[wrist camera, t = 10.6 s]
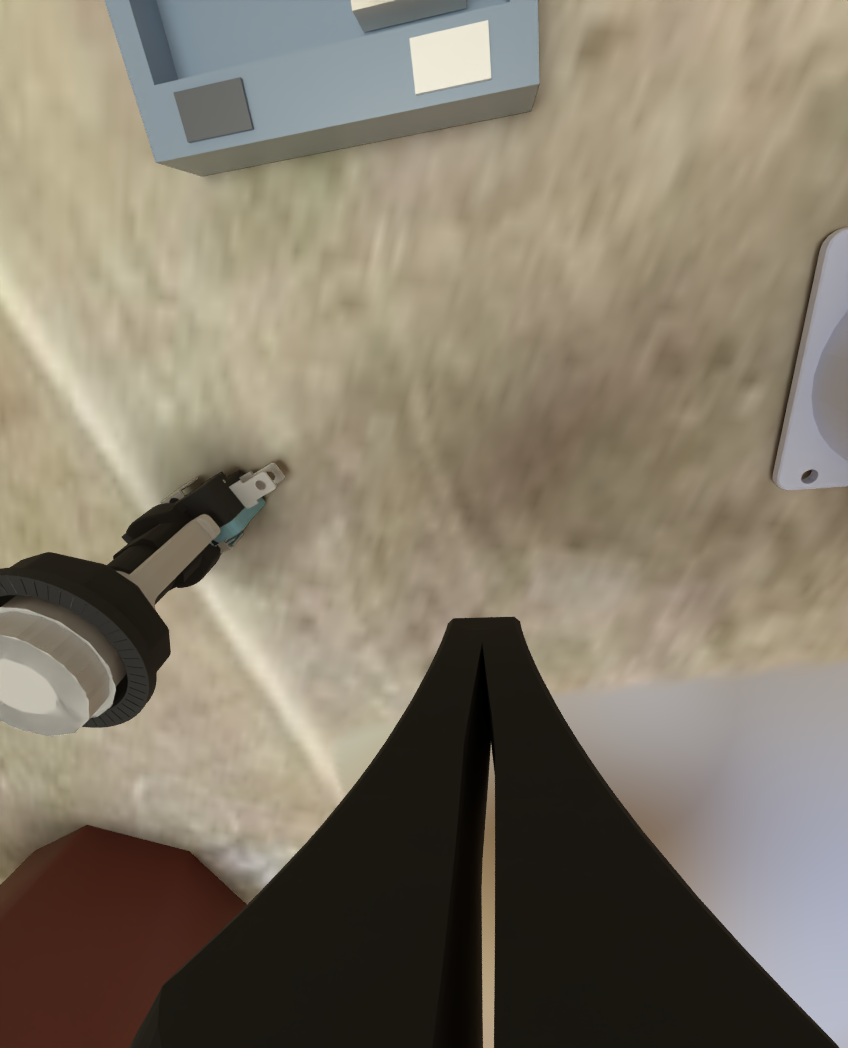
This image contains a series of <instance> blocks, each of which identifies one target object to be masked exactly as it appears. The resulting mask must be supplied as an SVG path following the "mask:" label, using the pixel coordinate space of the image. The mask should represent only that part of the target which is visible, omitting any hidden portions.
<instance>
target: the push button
mask: <svg viewBox="0 0 848 1048" xmlns="http://www.w3.org/2000/svg"><path fill="white" fill-rule="evenodd" d="M267 471H271V472H273V473H274V475H275V479H274V480H272V479H271V478H270V476H269V475H268V474H267ZM197 479H198V477H196V478H194V479H192V480H191V481H189V482H188V483H186V484H185V485H183V486H182V487H180V488H179V489H177V490H176V491H175V492H173V493H172V494H171V495H169V496H168V497H167V498H165V499H164V500H163V501H161V504H160V505H157V506H155V507H153V508H152V509H150V510H149V511H147V512H146V513H145V514H143V515H142V516H141V517H139V518H138V519H137V520H135V521H134V522H133V523H132V524H131V525H130V526H129V528H128V529H127V531H126V534H124V535H123V536H122V538H123V539H124V540H125V541H126V542H127V543H128V544H127V545H126V546H125V547H124V548H122V549H121V550H120V551H119V552H117V553H116V554H115V555H114V556H113V559H114V560H113V561H112V562H110V563H109V564H108V565H104V564H100V563H96V562H92V561H87V560H83V559H78V558H74V557H69V556H65V555H61V554H56V553H51V552H47V553H43V554H40V555H36V556H33V557H30V558H26V559H23V560H21V561H19V562H18V563H16V564H15V565H13V566H12V567H10V568H3V569H0V721H3V722H5V723H7V724H8V725H10V726H12V727H14V728H18V729H20V730H22V731H26V732H31V733H36V734H41V735H45V736H58V735H64V734H71V733H75V732H76V731H77V730H78V729H80V728H81V727H110V726H115V725H118V724H122V723H124V722H126V721H129V720H130V719H132V718H133V717H135V716H136V715H137V714H138V713H139V712H140V711H141V710H142V709H143V707H144V706H145V705H146V703H147V702H148V701H149V699H150V698H151V696H152V694H153V693H154V690H155V687H156V672H157V671H158V670H159V668H160V667H161V666H162V665H163V663H164V662H165V661H166V660H167V658H168V657H169V656H170V652H171V651H170V639H169V630H168V627H167V626H166V625H165V623H164V622H163V620H162V619H161V618H160V616H159V615H158V613H157V612H156V610H155V604H156V603H157V602H158V601H159V600H160V599H161V598H162V597H163V596H164V595H165V594H166V593H167V592H168V591H169V590H171V589H173V588H175V587H177V588H183V587H189V586H191V585H194V584H196V583H197V582H199V581H200V580H201V579H202V578H203V577H204V576H205V575H206V574H207V573H208V572H209V571H210V569H211V568H212V567H213V566H214V565H215V564H216V562H217V561H218V559H219V557H220V555H221V554H222V553H224V552H226V551H228V550H230V549H231V547H232V546H234V545H235V544H236V543H237V541H238V540H239V539H240V538H241V537H242V536H243V535H244V532H241V531H242V530H243V529H244V528H245V527H246V526H247V525H248V523H249V522H250V520H251V519H252V518H253V517H254V516H255V515H256V514H257V513H258V512H259V510H260V509H261V508H262V507H263V506H264V505H265V504H266V502H265V501H264V500H263V498H262V496H264V495H266V494H268V493H269V492H271V491H273V490H274V489H276V484H277V483H279V482H281V481H282V480H284V479H285V475H284V474H283V473H282V471H281V470H280V469H279V467H278V466H277V465H276V463H273V462H272V463H270V464H269V465H267V466H265V467H264V468H262V469H260V470H259V471H257V472H255V473H254V474H253V473H252V471H249V472H248V473H246V474H243V473H242V472H241V470H238V471H237V472H235V473H233V474H232V475H230V476H228V477H226V476H225V474H224V473H223V472H220V473H218V474H217V475H215V476H213V477H212V478H210V479H209V480H208V481H206V482H205V483H203V484H202V485H201V486H199V487H198V488H196V489H195V490H194V491H192V492H191V493H189V494H188V495H186V496H185V494H184V493H183V492H182V490H183V489H185V488H186V487H188V486H189V485H190V484H192V483H193V482H194V481H196V480H197ZM240 532H241V533H240ZM238 533H239V534H238ZM235 535H236V536H235ZM233 536H234V537H233ZM226 539H229V540H227V541H226V542H225V541H224V540H226ZM230 542H231V543H230Z"/></svg>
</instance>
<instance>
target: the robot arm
mask: <svg viewBox="0 0 848 1048" xmlns="http://www.w3.org/2000/svg"><path fill="white" fill-rule="evenodd" d="M811 469H812V472H811V474H810V475H809V476H808V477H807V478H805V479H801V477H802V475H803V473H805V472H806V471H808V470H811ZM773 481H774V483H775V484H776V485H777V486H778V487H780V488H782V489H783V490H803V489H818V488H832V487H847V486H848V227H846V228H842V229H839V230H836V231H834V232H833V233H832V234H830V235H829V236H828V237H827V238H826V240H825V241H824V242H823V244H822V246H821V249H820V252H819V257H818V262H817V266H816V271H815V276H814V281H813V285H812V290H811V295H810V300H809V304H808V309H807V314H806V319H805V324H804V328H803V333H802V338H801V343H800V347H799V352H798V357H797V362H796V366H795V371H794V376H793V381H792V385H791V390H790V395H789V400H788V404H787V409H786V414H785V419H784V424H783V428H782V433H781V438H780V443H779V447H778V452H777V457H776V462H775V466H774V471H773ZM491 745H492V754H493V763H494V771H495V1001H494V1006H495V1007H494V1009H495V1010H494V1013H495V1014H494V1048H839V1047H838V1046H837V1044H836V1043H835V1042H834V1041H833V1040H832V1039H831V1038H830V1037H829V1036H828V1035H827V1034H826V1033H825V1032H824V1031H823V1030H822V1029H821V1028H820V1027H819V1026H818V1025H817V1024H816V1023H815V1022H814V1021H813V1020H812V1018H811V1017H810V1016H808V1015H807V1014H806V1012H805V1011H804V1010H803V1009H802V1008H801V1007H799V1005H798V1004H797V1003H796V1002H795V1001H794V1000H793V999H792V998H791V997H790V996H789V995H788V994H787V993H786V992H785V991H784V990H783V989H782V988H781V987H780V986H779V985H778V983H777V982H776V981H775V980H774V979H773V978H772V977H771V976H770V975H769V974H768V973H767V972H766V971H765V970H764V969H763V968H762V967H761V965H760V964H759V963H758V962H757V961H756V960H755V959H754V958H753V957H752V956H751V955H750V954H749V953H748V952H747V951H746V950H745V949H744V947H742V945H741V944H740V943H739V942H738V941H737V940H736V939H735V938H734V936H733V935H732V934H731V933H730V932H729V931H728V930H727V929H726V928H725V927H724V925H723V924H722V923H721V922H720V921H719V920H718V919H717V918H716V916H715V915H714V914H713V913H712V912H711V911H710V910H709V909H708V908H707V907H706V905H704V903H703V902H702V901H701V900H700V899H699V898H698V897H697V895H696V894H695V893H694V892H693V891H692V889H691V888H690V887H689V886H688V885H687V883H686V882H685V881H684V880H683V879H682V877H681V876H680V875H679V874H678V873H677V871H676V870H675V869H674V868H673V867H672V865H671V864H670V863H669V862H668V861H667V859H666V858H665V857H664V856H663V855H662V853H661V852H660V851H659V850H658V849H657V847H656V846H655V845H654V844H653V843H652V842H651V840H650V839H649V838H648V837H647V836H646V835H645V833H644V832H643V831H642V830H641V828H640V827H639V826H638V825H637V823H636V822H635V820H634V819H633V818H632V817H631V815H630V814H629V813H628V811H627V810H626V809H625V807H624V806H623V805H622V803H621V802H620V801H619V800H618V798H617V797H616V795H615V794H614V793H613V791H612V790H611V788H610V787H609V786H608V784H607V783H606V781H605V780H604V779H603V777H602V776H601V775H600V773H599V772H598V770H597V769H596V767H595V766H594V764H593V763H592V761H591V760H590V759H589V757H588V756H587V754H586V752H585V751H584V749H583V748H582V746H581V745H580V744H579V742H578V740H577V739H576V737H575V735H574V734H573V732H572V730H571V729H570V727H569V726H568V724H567V722H566V721H565V719H564V718H563V716H562V714H561V712H560V710H559V709H558V707H557V705H556V704H555V702H554V700H553V698H552V696H551V694H550V692H549V690H548V689H547V687H546V685H545V683H544V681H543V679H542V677H541V675H540V673H539V671H538V669H537V667H536V665H535V663H534V660H533V658H532V656H531V654H530V651H529V649H528V646H527V644H526V641H525V638H524V635H523V632H522V629H521V624H520V621H519V620H518V619H516V618H515V617H490V618H454V619H452V620H451V621H450V622H449V623H448V626H447V629H446V632H445V634H444V637H443V639H442V642H441V644H440V646H439V648H438V651H437V653H436V655H435V657H434V659H433V661H432V663H431V665H430V667H429V669H428V671H427V673H426V675H425V677H424V679H423V680H422V682H421V684H420V686H419V688H418V690H417V692H416V693H415V695H414V697H413V699H412V701H411V702H410V704H409V706H408V707H407V709H406V710H405V712H404V714H403V715H402V717H401V718H400V720H399V722H398V723H397V725H396V726H395V728H394V730H393V731H392V733H391V734H390V736H389V738H388V739H387V741H386V742H385V744H384V745H383V747H382V748H381V749H380V751H379V752H378V754H377V755H376V757H375V758H374V759H373V761H372V762H371V764H370V765H369V766H368V768H367V769H366V770H365V772H364V773H363V774H362V776H361V777H360V779H359V780H358V781H357V782H356V784H355V785H354V786H353V788H352V789H351V790H350V791H349V793H348V794H347V795H346V796H345V797H344V799H343V800H342V801H341V802H340V804H339V805H338V806H337V807H336V809H335V810H334V811H333V812H332V813H331V815H330V816H329V817H328V818H327V820H326V821H325V822H324V823H323V824H322V825H321V827H320V828H319V829H318V830H317V831H316V832H315V834H314V835H313V836H312V837H311V838H310V839H309V840H308V842H307V843H306V844H305V845H304V846H303V847H302V848H301V849H300V850H299V851H298V852H297V853H296V854H295V855H294V857H293V858H292V859H291V860H290V861H289V862H288V863H287V864H286V865H285V866H284V867H283V868H282V869H281V870H280V871H279V872H278V874H277V875H276V876H275V877H274V878H273V879H272V880H271V881H270V882H269V883H268V884H267V885H266V886H265V887H264V888H263V889H262V891H261V892H260V893H259V894H258V895H257V896H256V897H255V898H254V899H253V900H252V901H251V902H250V903H249V904H248V905H247V906H246V907H245V908H244V909H243V910H242V911H241V912H240V913H239V914H237V915H236V916H235V917H234V918H233V919H232V920H231V921H230V922H229V923H228V924H227V925H226V926H225V927H224V928H223V929H222V930H220V931H219V932H218V933H217V934H216V935H215V936H214V937H213V938H212V939H211V940H210V941H209V942H208V943H207V944H206V945H205V946H203V947H202V948H201V949H200V950H199V951H198V952H197V953H196V954H195V955H194V956H193V957H192V958H191V959H190V960H189V961H188V962H186V963H185V964H184V965H183V966H182V967H181V968H180V969H179V970H178V971H177V972H176V973H175V974H174V975H172V976H171V977H170V978H169V979H168V980H167V981H166V982H165V983H164V984H163V985H162V987H161V989H160V991H159V993H158V995H157V997H156V999H155V1001H154V1003H153V1004H152V1006H151V1008H150V1010H149V1012H148V1014H147V1016H146V1017H145V1019H144V1021H143V1023H142V1024H141V1026H140V1028H139V1029H138V1031H137V1033H136V1035H135V1037H134V1039H133V1041H132V1043H131V1045H130V1047H129V1048H483V1023H482V916H481V915H482V914H481V913H482V910H481V908H482V907H481V884H482V857H483V844H484V830H485V816H486V802H487V790H488V776H489V761H490V747H491Z"/></svg>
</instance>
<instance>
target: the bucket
mask: <svg viewBox="0 0 848 1048" xmlns="http://www.w3.org/2000/svg"><path fill="white" fill-rule="evenodd" d="M246 906H247V905H246V904H245V903H244V902H243V901H242V900H241V899H240V898H239V897H238V896H237V895H236V894H234V893H233V892H232V891H231V890H230V889H229V888H228V887H227V886H226V885H225V884H224V883H223V882H222V881H221V880H219V879H218V878H217V877H216V876H215V875H214V874H213V873H212V872H211V871H210V870H209V869H208V868H207V867H205V866H204V865H203V864H202V863H201V862H200V861H199V860H198V859H197V858H196V857H195V856H194V855H193V854H192V853H190V852H189V851H186V850H182V849H178V848H174V847H170V846H166V845H163V844H159V843H155V842H151V841H147V840H143V839H139V838H135V837H132V836H128V835H124V834H120V833H116V832H112V831H108V830H104V829H101V828H97V827H93V826H89V825H86V826H84V827H82V828H80V829H78V830H76V831H74V832H72V833H70V834H68V835H66V836H64V837H62V838H60V839H58V840H56V841H54V842H52V843H50V844H48V845H46V846H44V847H42V848H40V849H38V850H36V851H34V852H33V853H32V854H31V855H30V856H29V857H28V858H27V859H26V860H25V861H24V862H23V863H22V864H21V865H20V866H19V867H18V868H17V869H16V870H15V871H14V872H13V873H12V874H11V875H10V876H9V877H8V878H7V879H6V880H5V881H4V882H3V883H2V884H1V885H0V1048H129V1047H130V1045H131V1043H132V1041H133V1039H134V1037H135V1035H136V1033H137V1031H138V1029H139V1028H140V1026H141V1024H142V1023H143V1021H144V1019H145V1017H146V1016H147V1014H148V1012H149V1010H150V1008H151V1006H152V1004H153V1003H154V1001H155V999H156V997H157V995H158V993H159V991H160V989H161V987H162V985H163V984H164V983H165V982H166V981H167V980H168V979H169V978H170V977H171V976H172V975H174V974H175V973H176V972H177V971H178V970H179V969H180V968H181V967H182V966H183V965H184V964H185V963H186V962H188V961H189V960H190V959H191V958H192V957H193V956H194V955H195V954H196V953H197V952H198V951H199V950H200V949H201V948H202V947H203V946H205V945H206V944H207V943H208V942H209V941H210V940H211V939H212V938H213V937H214V936H215V935H216V934H217V933H218V932H219V931H220V930H222V929H223V928H224V927H225V926H226V925H227V924H228V923H229V922H230V921H231V920H232V919H233V918H234V917H235V916H236V915H237V914H239V913H240V912H241V911H242V910H243V909H244V908H245V907H246Z"/></svg>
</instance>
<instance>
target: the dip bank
mask: <svg viewBox="0 0 848 1048" xmlns="http://www.w3.org/2000/svg"><path fill="white" fill-rule="evenodd" d="M105 3H106V6H107V9H108V13H109V16H110V19H111V22H112V25H113V28H114V32H115V35H116V38H117V41H118V44H119V47H120V51H121V54H122V57H123V60H124V63H125V66H126V70H127V73H128V76H129V79H130V82H131V85H132V89H133V92H134V95H135V98H136V101H137V104H138V107H139V111H140V114H141V117H142V120H143V123H144V126H145V130H146V133H147V136H148V139H149V142H150V145H151V149H152V152H153V155H154V158H155V161H156V163H159V164H162V165H166V166H169V167H172V168H176V169H179V170H182V171H186V172H189V173H192V174H196V175H199V176H206V175H211V174H216V173H221V172H226V171H231V170H236V169H241V168H247V167H252V166H257V165H262V164H267V163H272V162H277V161H282V160H287V159H292V158H297V157H302V156H307V155H312V154H317V153H322V152H327V151H333V150H338V149H343V148H348V147H353V146H358V145H363V144H368V143H373V142H378V141H383V140H388V139H393V138H398V137H403V136H408V135H413V134H419V133H424V132H429V131H434V130H439V129H444V128H449V127H454V126H459V125H464V124H469V123H474V122H479V121H484V120H489V119H494V118H499V117H505V116H510V115H515V114H520V113H525V112H530V111H531V110H532V106H533V103H534V100H535V97H536V93H537V90H538V87H539V36H538V0H466V6H467V8H464V9H460V10H456V11H452V12H447V13H443V14H439V15H435V16H430V17H426V18H422V19H418V20H414V21H409V22H405V23H401V24H397V25H392V26H388V27H384V28H380V29H375V30H371V31H367V32H363V30H362V28H361V26H360V25H359V23H358V21H357V19H356V17H355V15H354V13H353V11H352V6H351V0H105Z"/></svg>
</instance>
